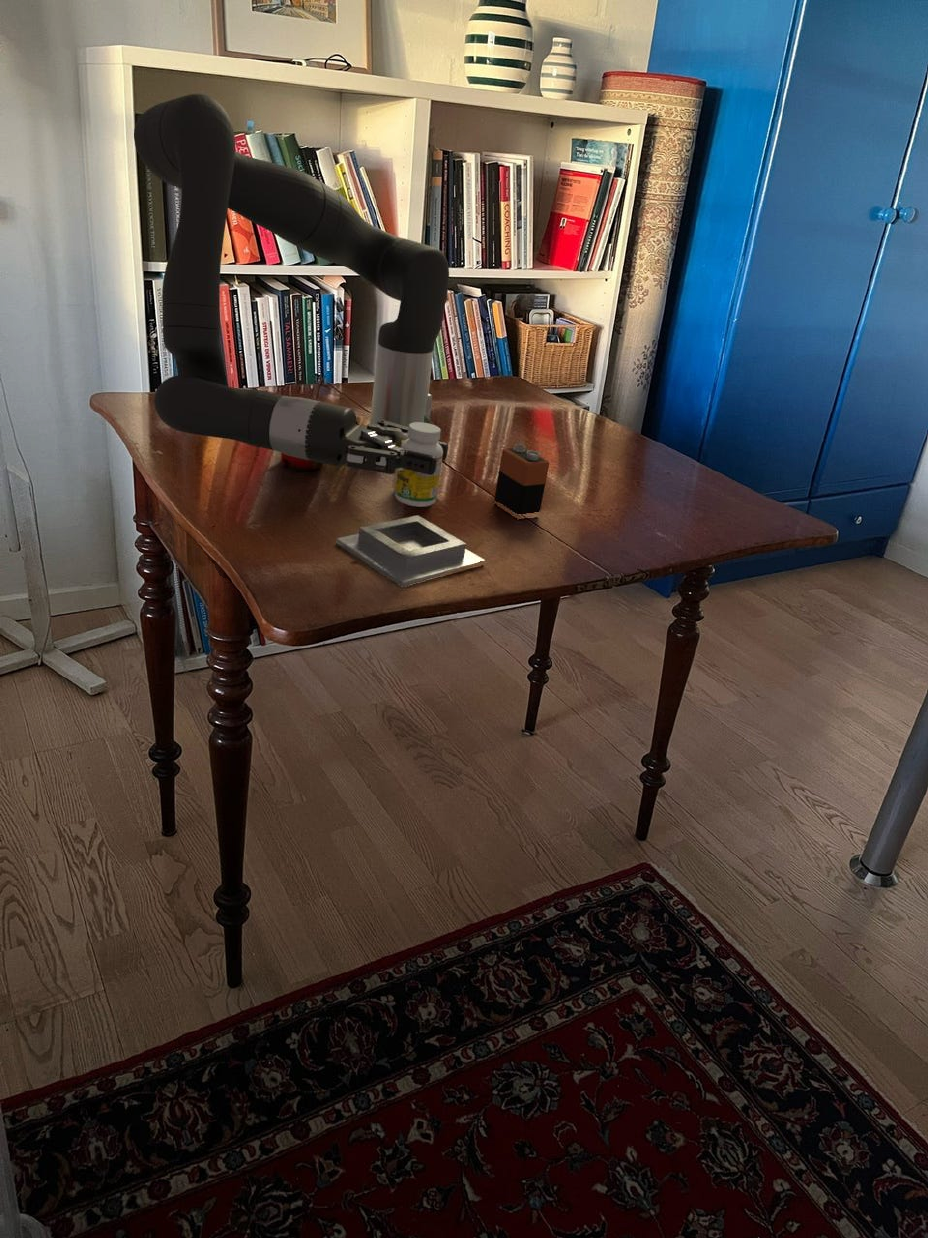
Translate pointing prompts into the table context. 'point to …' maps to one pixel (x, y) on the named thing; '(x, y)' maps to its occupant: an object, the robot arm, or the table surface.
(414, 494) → the supplement bottle
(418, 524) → the grey square holder
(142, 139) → the robot arm
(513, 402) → the table surface
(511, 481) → the battery
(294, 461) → the red clay folk toy
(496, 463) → the table surface
